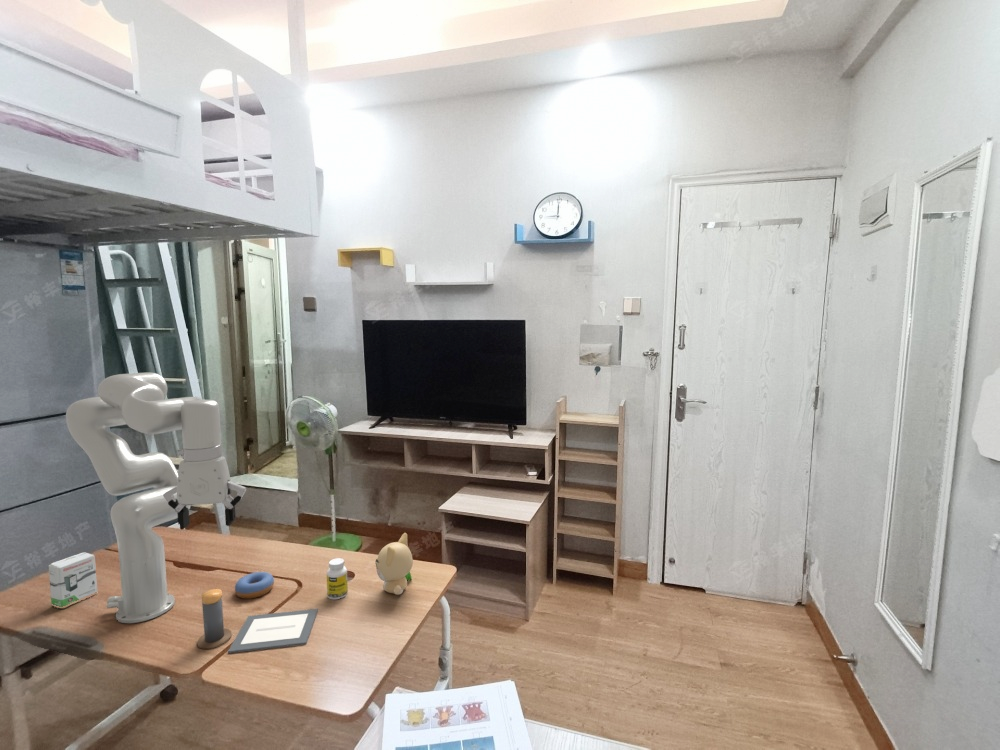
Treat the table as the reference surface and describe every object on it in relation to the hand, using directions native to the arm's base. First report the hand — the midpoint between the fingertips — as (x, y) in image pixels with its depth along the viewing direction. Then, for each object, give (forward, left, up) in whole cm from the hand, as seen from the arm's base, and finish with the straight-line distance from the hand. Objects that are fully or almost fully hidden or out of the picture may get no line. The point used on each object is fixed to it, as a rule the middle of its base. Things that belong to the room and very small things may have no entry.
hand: (207, 525), depth 112 cm
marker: (0, 0, -28) cm, 28 cm away
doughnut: (+2, +22, -29) cm, 36 cm away
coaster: (0, 0, -28) cm, 28 cm away
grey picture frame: (+14, +1, -28) cm, 31 cm away
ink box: (-45, +26, -28) cm, 59 cm away
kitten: (+42, +15, -29) cm, 53 cm away
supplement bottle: (+26, +15, -28) cm, 41 cm away
